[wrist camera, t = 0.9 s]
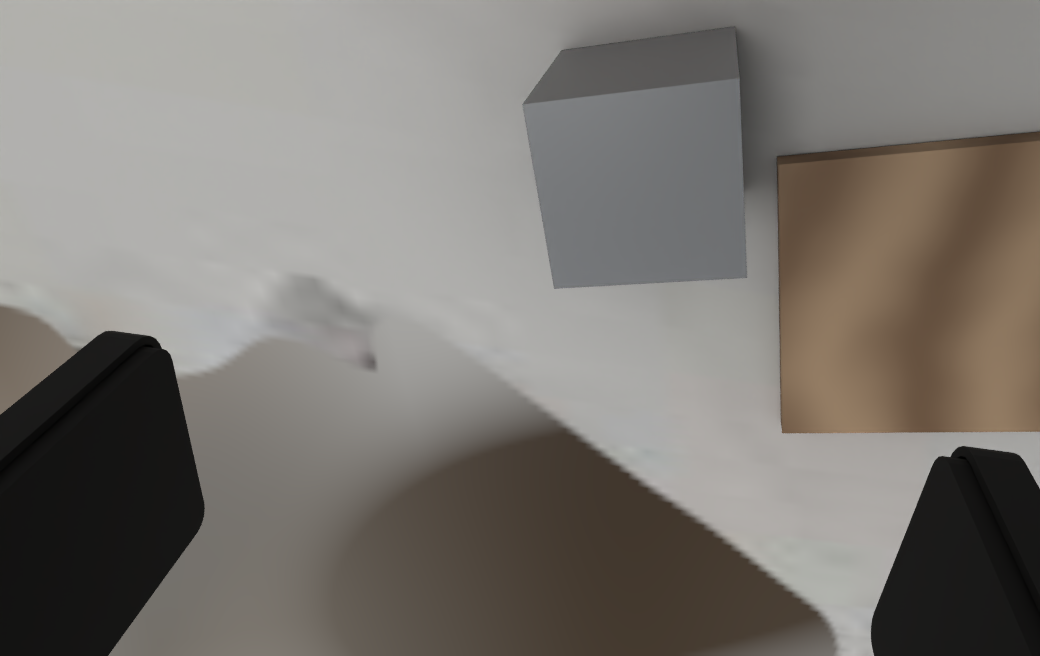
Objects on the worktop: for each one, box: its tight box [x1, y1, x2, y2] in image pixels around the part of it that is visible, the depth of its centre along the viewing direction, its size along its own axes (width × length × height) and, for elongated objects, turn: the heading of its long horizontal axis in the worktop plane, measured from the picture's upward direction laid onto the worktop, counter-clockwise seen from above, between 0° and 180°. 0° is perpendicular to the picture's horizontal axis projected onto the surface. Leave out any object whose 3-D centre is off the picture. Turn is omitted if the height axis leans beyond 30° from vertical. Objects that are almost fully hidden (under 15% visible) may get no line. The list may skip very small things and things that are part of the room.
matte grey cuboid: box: [522, 26, 747, 289], centre depth 31 cm, size 7×7×8 cm
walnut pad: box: [777, 132, 1040, 433], centre depth 35 cm, size 14×14×1 cm
